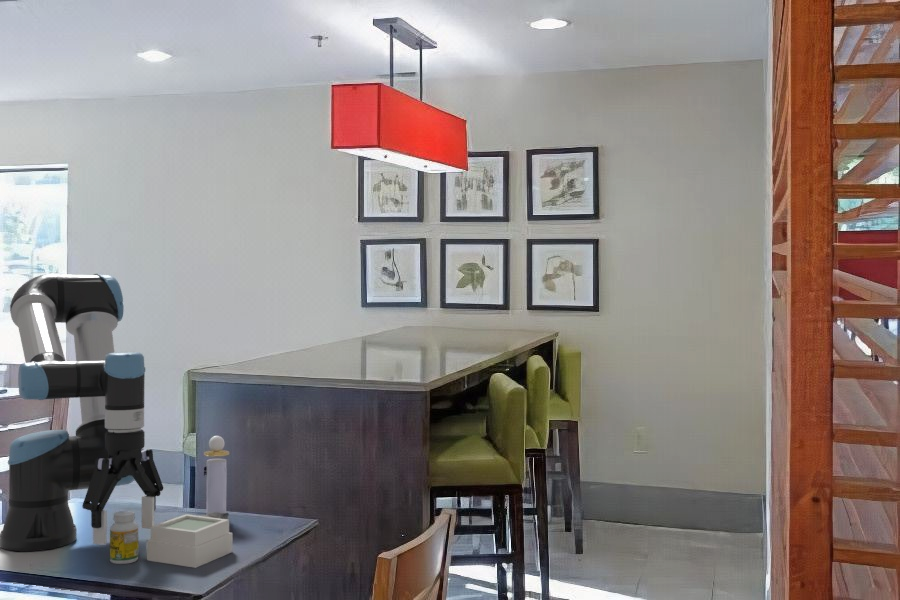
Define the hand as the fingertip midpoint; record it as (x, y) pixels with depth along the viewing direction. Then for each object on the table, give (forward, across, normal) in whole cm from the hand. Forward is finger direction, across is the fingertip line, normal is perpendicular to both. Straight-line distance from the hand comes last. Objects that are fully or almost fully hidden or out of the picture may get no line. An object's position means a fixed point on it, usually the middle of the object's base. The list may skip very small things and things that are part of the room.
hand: (124, 535), depth 186 cm
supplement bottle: (+5, 0, 0) cm, 5 cm away
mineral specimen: (+5, +24, 0) cm, 25 cm away
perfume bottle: (+5, +34, +4) cm, 35 cm away
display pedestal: (+5, +8, -10) cm, 14 cm away
